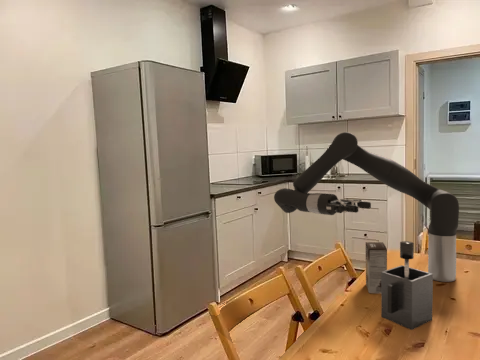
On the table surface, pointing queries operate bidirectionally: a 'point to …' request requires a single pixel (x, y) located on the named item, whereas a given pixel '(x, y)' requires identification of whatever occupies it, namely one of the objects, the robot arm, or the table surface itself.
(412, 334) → the table surface
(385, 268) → the coffee box
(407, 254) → the plunger
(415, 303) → the box
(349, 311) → the table surface
